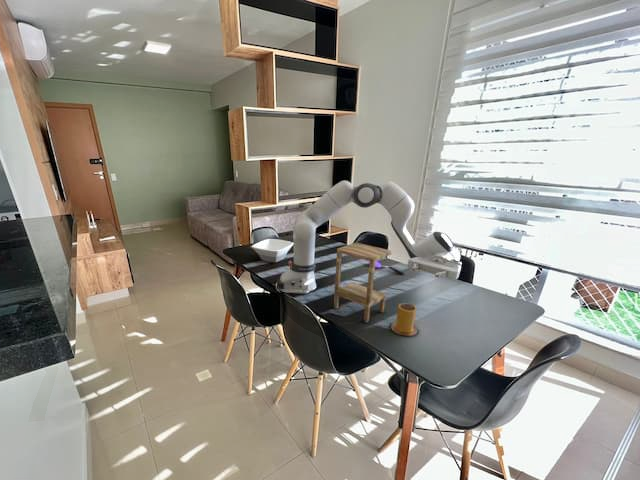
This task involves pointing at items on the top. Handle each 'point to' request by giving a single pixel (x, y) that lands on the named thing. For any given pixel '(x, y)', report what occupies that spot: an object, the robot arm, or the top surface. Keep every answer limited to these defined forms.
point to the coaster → (403, 332)
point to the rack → (353, 290)
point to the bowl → (272, 249)
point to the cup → (405, 317)
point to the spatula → (388, 267)
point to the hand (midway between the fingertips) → (425, 272)
